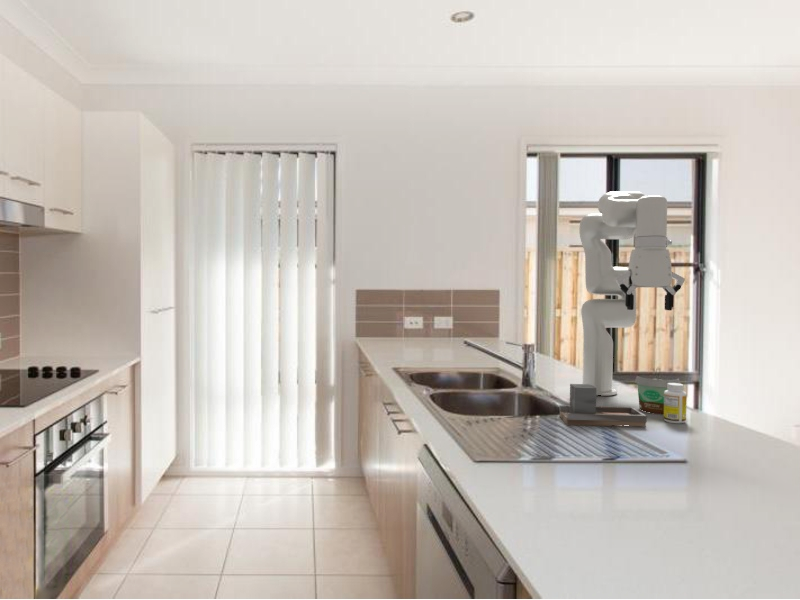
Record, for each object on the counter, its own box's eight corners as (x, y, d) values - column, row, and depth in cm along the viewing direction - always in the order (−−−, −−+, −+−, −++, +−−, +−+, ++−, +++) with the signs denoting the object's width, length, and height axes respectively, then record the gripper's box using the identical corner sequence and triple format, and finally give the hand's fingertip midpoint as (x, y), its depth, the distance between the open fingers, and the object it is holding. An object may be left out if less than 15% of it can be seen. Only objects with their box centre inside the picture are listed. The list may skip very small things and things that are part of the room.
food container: (631, 412, 173) (632, 377, 173) (634, 408, 179) (635, 374, 178) (678, 417, 167) (679, 381, 167) (679, 413, 173) (680, 378, 173)
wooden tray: (559, 415, 167) (559, 382, 167) (632, 417, 166) (633, 383, 166) (567, 425, 156) (568, 389, 156) (646, 427, 155) (647, 390, 155)
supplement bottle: (680, 419, 165) (681, 382, 164) (689, 424, 159) (690, 386, 159) (659, 419, 165) (660, 382, 164) (668, 424, 159) (669, 385, 159)
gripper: (679, 245, 159) (677, 309, 160) (612, 245, 161) (611, 308, 161) (690, 243, 152) (689, 311, 152) (620, 243, 153) (619, 310, 153)
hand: (649, 309), depth 157 cm, fingers open, 9 cm apart
